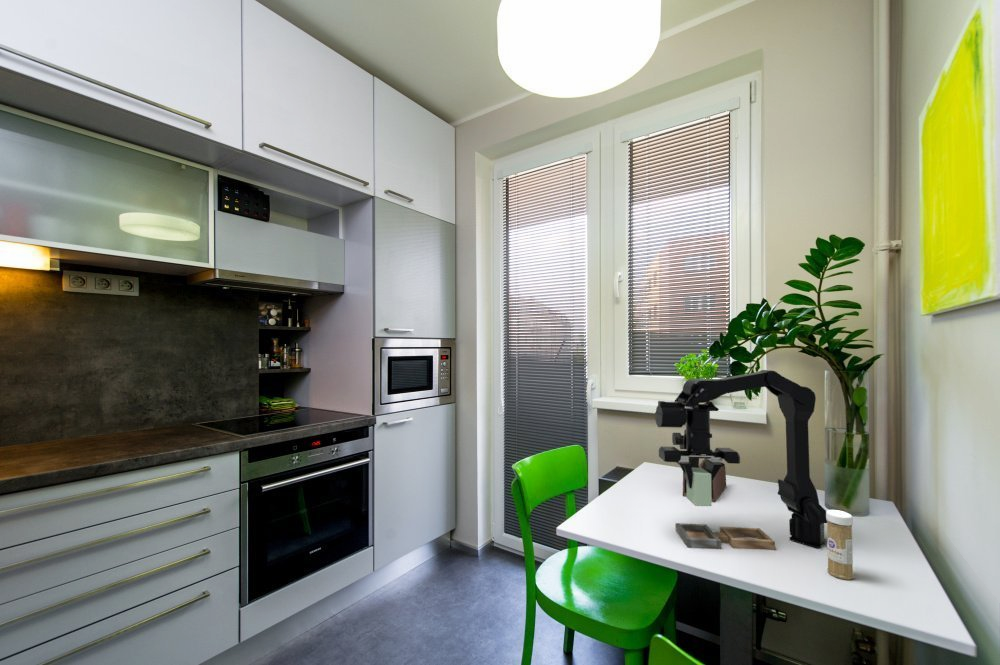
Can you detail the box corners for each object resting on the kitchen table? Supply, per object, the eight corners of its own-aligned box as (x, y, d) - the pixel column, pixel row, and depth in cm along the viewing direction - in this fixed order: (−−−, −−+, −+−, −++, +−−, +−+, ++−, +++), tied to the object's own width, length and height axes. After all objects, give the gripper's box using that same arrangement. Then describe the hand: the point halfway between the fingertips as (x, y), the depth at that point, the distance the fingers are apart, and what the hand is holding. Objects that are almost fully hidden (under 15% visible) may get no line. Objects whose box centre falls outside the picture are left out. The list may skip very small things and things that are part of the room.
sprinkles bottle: (822, 572, 95) (821, 510, 96) (835, 568, 97) (834, 507, 98) (846, 582, 91) (844, 518, 92) (859, 578, 93) (857, 514, 93)
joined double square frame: (757, 534, 115) (757, 526, 115) (777, 551, 105) (777, 543, 105) (675, 530, 117) (675, 523, 117) (687, 547, 107) (687, 539, 107)
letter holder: (682, 496, 145) (681, 454, 145) (696, 482, 160) (696, 443, 161) (715, 503, 138) (714, 458, 139) (726, 487, 154) (726, 447, 155)
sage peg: (711, 506, 109) (711, 474, 109) (695, 505, 109) (694, 473, 109) (702, 498, 115) (701, 467, 115) (686, 497, 115) (686, 467, 115)
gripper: (721, 423, 120) (721, 479, 120) (652, 421, 121) (653, 478, 121) (740, 430, 109) (741, 493, 108) (665, 429, 110) (665, 491, 110)
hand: (698, 488), depth 112 cm, fingers closed on sage peg, 4 cm apart
